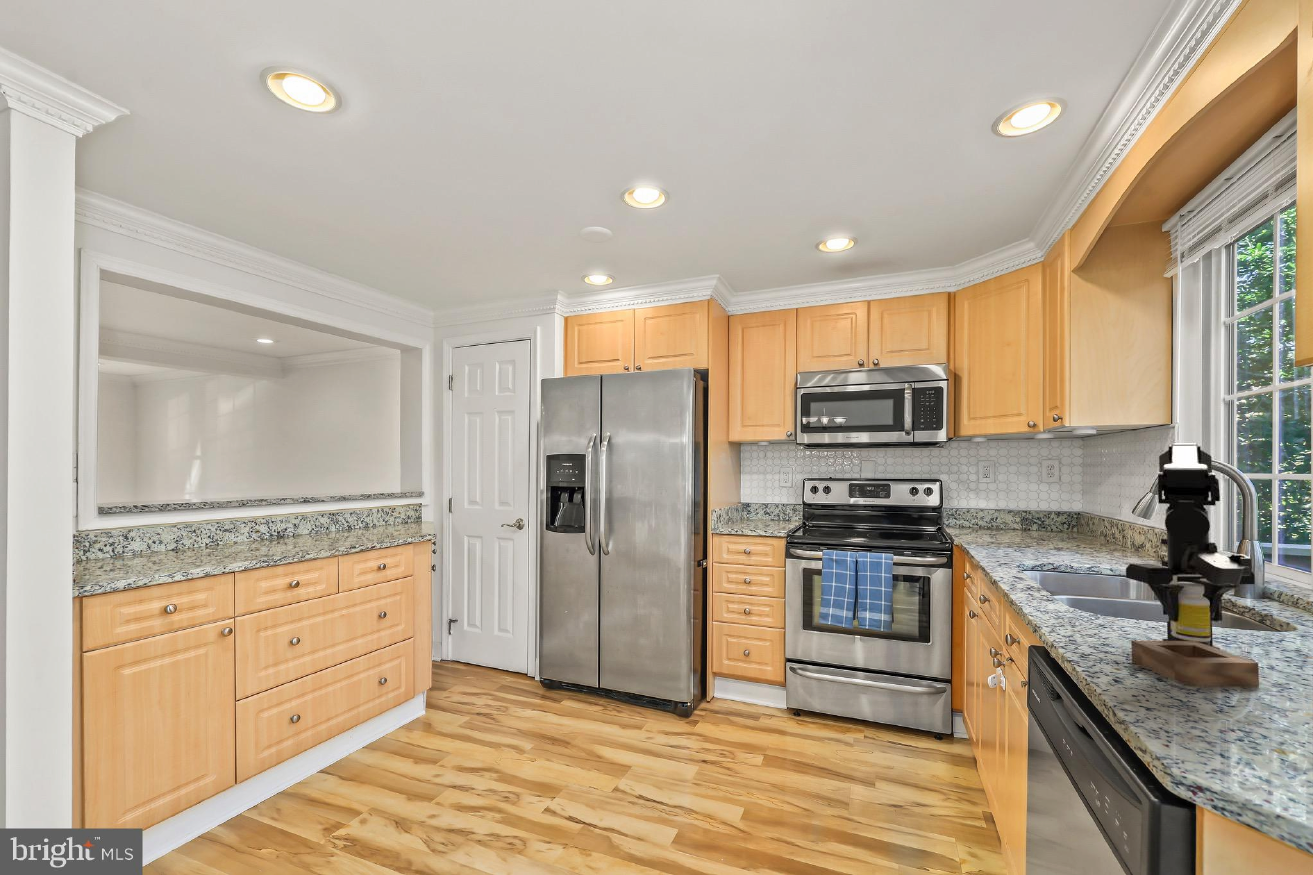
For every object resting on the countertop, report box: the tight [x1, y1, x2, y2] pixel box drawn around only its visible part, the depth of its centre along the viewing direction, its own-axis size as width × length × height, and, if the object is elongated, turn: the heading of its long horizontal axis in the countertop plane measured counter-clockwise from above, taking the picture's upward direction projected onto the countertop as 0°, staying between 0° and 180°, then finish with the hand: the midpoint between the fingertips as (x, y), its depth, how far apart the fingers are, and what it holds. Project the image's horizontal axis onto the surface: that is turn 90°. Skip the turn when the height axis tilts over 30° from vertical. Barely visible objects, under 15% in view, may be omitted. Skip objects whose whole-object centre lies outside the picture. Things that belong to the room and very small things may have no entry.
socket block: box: [1130, 640, 1260, 688], centre depth 106 cm, size 12×12×4 cm
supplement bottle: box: [1171, 582, 1211, 642], centre depth 106 cm, size 5×5×10 cm
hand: (1190, 621), depth 106 cm, fingers closed on supplement bottle, 5 cm apart
